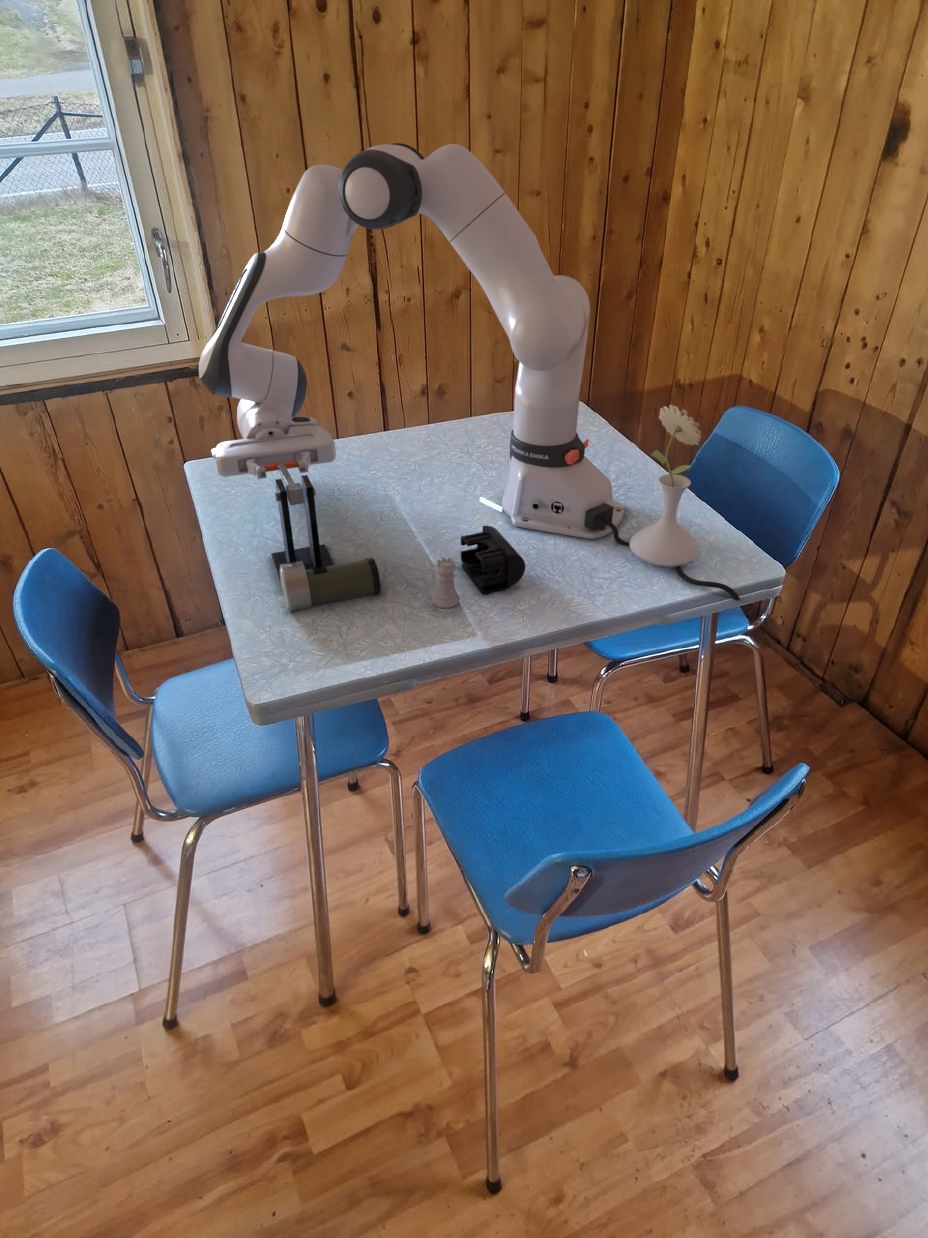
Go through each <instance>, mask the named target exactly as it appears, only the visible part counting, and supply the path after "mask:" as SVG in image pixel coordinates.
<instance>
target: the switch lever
mask: <svg viewBox="0 0 928 1238" xmlns="http://www.w3.org/2000/svg"><path fill="white" fill-rule="evenodd" d="M264 467H265V470H266V473H269V472H276V471H278V472H279V474H280V476H281V479H282V481H283V483H284V485H285V489H286V491H287V499H288V504H290V506H294V505H295V506H297V505H302V504H304V503H305V500H304V493H303V488H302V483H301V482H294V480H293V478H292V476H291V474H290V471H289V470H290V469H298V462H297V461H293V462H286V463H279V464H272V465H265V466H264Z"/></svg>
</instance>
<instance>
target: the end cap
mask: <svg viewBox="0 0 928 1238" xmlns="http://www.w3.org/2000/svg"><path fill="white" fill-rule="evenodd" d="M460 546H467V547H471V546H476V547H474V548H471V549H470V548H469V549H466V550H461V551H460V561H461V569H462V570H463V572H464V573H465V574H466V576H467V578H469V580H470V581H471V582H472V583H473V585H474V586H475V588H476V589H477V590H478V591H479V593H480V594H481V595H483V596H487V595H491V594H495V593H496V594H497V593H499V592H505V591H507V590H509V589H510V588H511V587H513V586H515V585H516V584H517V583H519V582H520V581H521V580H522V578H523V577H524V574H525V572H526V562H525V560H524V558H523V557H522V556H521V554H519V553H518V552H517V550H516V549H515V548H514V547H513V545H512V544H511V543H510V542H509V541H508V540H507V539H506V538H505V537H504V536H503V534H502V533H500V531H499V530H498V529H497V528H496V527H494V526H491V525H483V526H482V531H480V532H475V533H470V534H466V535H462V536H460Z"/></svg>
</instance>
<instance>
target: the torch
mask: <svg viewBox="0 0 928 1238" xmlns="http://www.w3.org/2000/svg"><path fill="white" fill-rule="evenodd" d="M280 578H281V583H280V585H281V584H282V586H281V589H282V593H283V594H282V595H283V598H284V601H285V604H286V608H287V609H288V610H289V612H290V613H291V612H296V611H301V610H307V609H312V607H317V606H320V605H324V604H325V605H326V604H331V603H336V602H341V601H346V600H347V601H348V600H352V599H356V598H357V599H358V598H363V597H368V596H373V595H378V594H381V589H382V588H381V587H382V585H381V577H380V573H379V568H378V565H377V562H376V560H375V557H372V556H371V557H366V558H365V559H362V560H357V561H351V562H345V563H341V564H333V566H328V567H326V566H320V567H314V568H312V569H311V570H305V567H304V565H303V562H302V561H300V562H294V563H288V564H283V565H280Z"/></svg>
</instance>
